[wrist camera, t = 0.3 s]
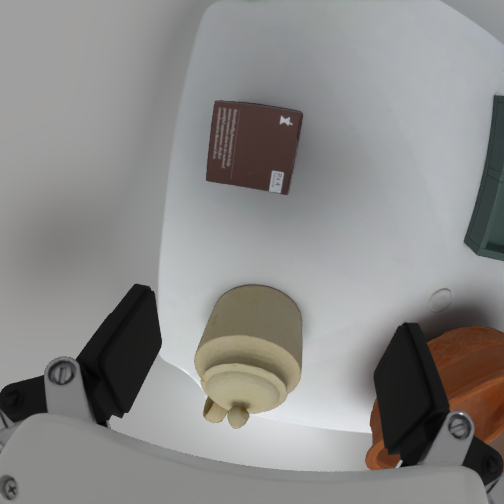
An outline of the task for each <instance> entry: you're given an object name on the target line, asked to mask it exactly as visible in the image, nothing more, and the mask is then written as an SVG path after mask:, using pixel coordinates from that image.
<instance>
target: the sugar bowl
mask: <svg viewBox="0 0 504 504" xmlns="http://www.w3.org/2000/svg"><path fill="white" fill-rule="evenodd" d="M194 362H195V368H196V371H197V373H198V375H199V376H200V378H201V386H202V388H203V390H204V392H205V393H206V394H207V396H208V398H207V400H206V403H205V407H204V411H203V416H204V418H205V419H206V420H207V421H209V422H212V423H219V422H221V421H222V420H223V419H224V417H225V416H226V414H227V412H228V421H229V423H230V425H231V426H232V427H233V428H235V429H237V428H240V427H242V426H243V425H244V424H245V423H246V422H247V420H248V418H249V414H255V413H260V412H265V411H269V410H272V409H274V408H276V407H278V406H279V405H281V404H282V403H283V402H284V401H285V400H286V397H287V395H288V394H289V393H290V392H291V391H293V390H294V389H295V387H296V386H297V385H298V383H299V381H300V378H301V369H302V319H301V314H300V312H299V310H298V308H297V306H296V305H295V303H294V302H293V301H292V300H291V299H290V298H289V297H287V296H286V295H285V294H283V293H281V292H280V291H277V290H275V289H273V288H269V287H266V286H259V285H247V286H242V287H237V288H234V289H232V290H230V291H228V292H227V293H225V294H224V295H223V296H222V297H221V298H220V299H219V300H218V302H217V303H216V305H215V307H214V309H213V312H212V314H211V316H210V319H209V321H208V323H207V325H206V328H205V330H204V333H203V335H202V338H201V340H200V343H199V346H198V349H197V351H196V354H195V360H194ZM228 410H229V411H228Z"/></svg>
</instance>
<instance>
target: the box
mask: <svg viewBox="0 0 504 504" xmlns="http://www.w3.org/2000/svg"><path fill="white" fill-rule="evenodd" d="M302 118H303V113H302V112H301V111H297V110H292V109H286V108H281V107H275V106H269V105H263V104H255V103H246V102H235V101H222V100H219V101H215V104H214V110H213V116H212V124H211V133H210V143H209V151H208V161H207V172H206V181H209V182H216V183H221V184H228V185H235V186H240V187H246V188H252V189H258V190H263V191H269V192H274V193H279V194H284V195H288V194H289V189H290V184H291V179H292V174H293V168H294V163H295V158H296V154H297V147H298V141H299V135H300V130H301V125H302Z"/></svg>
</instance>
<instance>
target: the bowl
mask: <svg viewBox="0 0 504 504" xmlns="http://www.w3.org/2000/svg"><path fill="white" fill-rule="evenodd" d="M427 344H428V347H429V349H430V352H431V354H432V357H433V359H434V362H435V365H436V367H437V370H438V373H439V375H440V378H441V381H442V384H443V387H444V389H445V392H446V395H447V398H448V401H449V405H450V408H449V409H450V412H452V411H455V410H460V411H463V412H465V413H467V414H468V415H469V416H470V417H471V419H472V420H473V423H474V429H475V430H474V436H476V437H477V438H479V439H480V440H482V441H483V442H484V443H486V444H488V443H490V442H491V441H493V440H494V439H496V438H497V437H498V436H499V435H501V434H502V433H503V432H504V333H503V332H501V331H498V330H496V329H494V328H490V327H481V326H469V327H460V328H456V329H452V330H450V331H447V332H444V333H443V334H442V335H441V336H440V337H438V338H434V339H432V340H431V341H429V342H427ZM370 426H371V430H372V434H373V435H372V436H373V445H372V447H371V448H370V449H369V450H368V452H367V455H366V460H365V462H366V465H367V467H368V468H369V469H370V470H380V469H391V468H395V467H396V466H397V464H398V463H399V461H400V460H401V458H400V454H395V455H388V449H386V448H385V447H384V442H383V434H382V427H381V420H380V413H379V407H378V401H377V398H376V400H375V403H374V405H373V410H372V412H371V417H370Z"/></svg>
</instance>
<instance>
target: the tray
mask: <svg viewBox="0 0 504 504" xmlns="http://www.w3.org/2000/svg"><path fill="white" fill-rule="evenodd" d="M464 243H465V244H466V245H467V246H468V247H469V248H470V249H471V250H472V251H473V252H474V253H475V254H476V255H478V256H483V257H488V258H492V259H497V260H502V261H504V96H496V95H495V96H494V107H493V117H492V126H491V134H490V140H489V147H488V153H487V158H486V163H485V168H484V173H483V177H482V182H481V186H480V190H479V194H478V198H477V201H476V205H475V209H474V212H473V215H472V219H471V222H470V225H469V228H468V231H467V234H466V237H465V240H464Z"/></svg>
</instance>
